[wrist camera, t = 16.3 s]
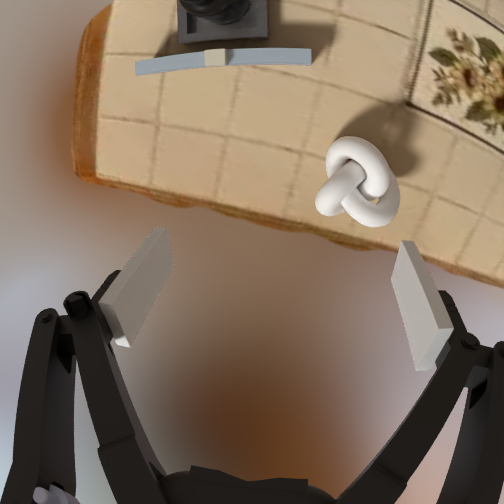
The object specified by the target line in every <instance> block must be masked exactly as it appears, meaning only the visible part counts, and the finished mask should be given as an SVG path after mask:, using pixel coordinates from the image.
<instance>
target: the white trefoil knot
mask: <svg viewBox="0 0 504 504" xmlns="http://www.w3.org/2000/svg"><path fill="white" fill-rule="evenodd" d="M348 159H352V160H351V161H349V162H348V163H347V160H348ZM326 171H327V175H328V178H329V179H328V180H327V181H326V183H325V184H324V185H323V186H322V187H321V189H320V190H319V191H318V193H317V196H316V200H315V205H316V208H317V210H318V211H319V212H320V213H321V214H322V215H326V216H334V215H337V214H340V213H342V212H345V211H347V212H348V214H349V215H350V216H351V217H353V218H354V219H355V220H357V221H358V222H359V223H361V224H363V225H365V226H368V227H380V226H384V225H386V224H388V223H389V222H390V221H392V220H393V218H394V217H395V215H396V213H397V211H398V208H399V205H400V190H399V185H398V183H397V180H396V178H395V176H394V174H393V172H392V170H391V169H390V168H389V166H388V163H387V161H386V159H385V158H384V156H383V155H382V153H381V152H380V151H379V150H378V149H377V148H376V147H375V146H374V145H373V144H371V143H370V142H369V141H367V140H365V139H363V138H359V137H353V136H345V137H341V138H339V139H337V140H336V141H334V142H333V143H332V144H331V145H330V147H329V148H328V151H327V154H326ZM365 178H366V179H365ZM364 179H365V180H364ZM377 198H379V201H378V202H377V203H376V204H372V203H370V202H369V201H372V200H375V199H377Z"/></svg>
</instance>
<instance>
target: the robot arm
mask: <svg viewBox="0 0 504 504" xmlns="http://www.w3.org/2000/svg"><path fill="white" fill-rule="evenodd" d="M503 102H504V99H503ZM173 268H174V262H173V256H172V251H171V246H170V240H169V235H168V229H167V227H155V228H154V229H153V230H152V232H151V233H150V234H149V236H148V237H147V238H146V239H145V241H144V242H143V243H142V244H141V246H140V247H139V248H138V250H137V251H136V252H135V253H134V255H133V256H132V257H131V258H130V260H129V261H128V262H127V264H126V265H125V266H124V268H123V269H122V270H116V271H114V272H113V273H112V274H110V275H109V276H108V277H107V279H106V280H105V281H104V283H103V284H102V285H101V286H100V288H99V289H98V291H97V292H96V293H95V295H94V296H93V297H92V299H91V300H90V298H89V295H88V293H87V292H85V291H77V292H73V293H71V294H70V295H68V296H67V297H66V299H65V300H64V303H63V305H64V307H65V309H66V312H67V313H68V315H62V316H59V315H58V313H57V311H56V310H55V309H53V308H48V309H45V310H43V311H41V312H40V313H39V314H38V315H37V317H36V319H35V322H34V326H33V330H32V334H31V338H30V342H29V346H28V351H27V355H26V359H25V365H24V370H23V375H22V380H21V386H20V393H19V399H18V407H17V414H16V423H15V433H14V446H13V463H12V466H11V469H10V472H9V475H8V478H7V481H6V484H5V487H4V491H3V494H2V498H1V501H0V504H80V503H79V501H78V500H77V499H76V498H75V493H76V472H75V454H74V391H75V373H76V360H77V362H78V367H79V372H80V376H81V381H82V385H83V389H84V393H85V397H86V401H87V404H88V408H89V412H90V415H91V419H92V422H93V425H94V429H95V432H96V435H97V438H98V441H99V444H100V447H99V448H98V455H99V458H100V461H101V464H102V467H103V470H104V472H105V475H106V477H107V480H108V482H109V485H110V487H111V490H112V492H113V495H114V497H115V499H116V501H117V504H394V503H395V502H396V501H397V499H398V498H399V497H400V495H401V494H402V493H403V491H404V490H405V488H406V486H407V482H408V480H409V479H410V477H411V476H412V474H413V473H414V471H415V470H416V469H417V467H418V466H419V464H420V463H421V461H422V460H423V458H424V457H425V455H426V454H427V452H428V451H429V449H430V447H431V446H432V444H433V443H434V441H435V439H436V438H437V436H438V434H439V433H440V431H441V429H442V428H443V426H444V424H445V422H446V421H447V419H448V417H449V415H450V413H451V411H452V410H453V408H454V406H455V404H456V402H457V400H458V398H459V396H460V394H461V392H462V390H463V388H464V387H468V394H467V399H466V404H465V409H464V414H463V419H462V423H461V427H460V432H459V435H458V439H457V443H456V447H455V450H454V454H453V457H452V460H451V464H450V467H449V470H448V473H447V476H446V479H445V482H444V485H443V487H442V490H441V493H440V496H439V498H438V501H437V503H436V504H498V502H499V498H500V494H501V490H502V486H503V482H504V341H500V342H497V343H496V344H495V346H494V348H491V347H487V346H483V345H480V342H479V340H478V339H477V337H475V336H474V335H473V334H471V333H468V332H467V330H466V328H465V325H464V323H463V321H462V318H461V316H460V314H459V312H458V309H457V307H456V306H455V303H454V301H453V299H452V297H451V296H450V295H449V294H448V293H447V292H446V291H442V290H441V291H440V290H437V288H436V285H435V283H434V281H433V279H432V277H431V275H430V273H429V271H428V268H427V266H426V264H425V262H424V260H423V258H422V256H421V254H420V253H419V251H418V249H417V247H416V245H415V243H414V241H404V240H401V244H400V248H399V252H398V256H397V260H396V263H395V267H394V271H393V275H392V278H391V282H392V285H393V289H394V292H395V295H396V298H397V302H398V305H399V308H400V312H401V315H402V318H403V322H404V326H405V330H406V333H407V337H408V341H409V345H410V348H411V353H412V357H413V361H414V365H415V370H416V371H423V370H431V368H432V366H433V365H434V363H436V367H437V370H436V372H435V374H434V375H433V376H432V378H431V380H430V381H429V383H428V385H427V386H426V388H425V390H424V391H423V393H422V394H421V396H420V397H419V399H418V400H417V402H416V403H415V405H414V406H413V408H412V409H411V411H410V412H409V414H408V415H407V416H406V418H405V419H404V421H403V422H402V423H401V425H400V426H399V427H398V429H397V430H396V431H395V433H394V434H393V435H392V437H391V438H390V439H389V440H388V442H387V443H386V444H385V446H384V447H383V448H382V449H381V450H380V452H379V453H378V454H377V455H376V457H375V458H374V459H373V460H372V461H371V462H370V464H369V465H368V466H367V467H366V468H365V469H364V470H363V472H362V473H361V474H360V475H359V476H358V477H357V478H356V479H355V481H354V482H352V484H351V485H350V486H349V487H348V488H347V489H346V490H345V491H344V492H343V493H342V494H341V495H340V496H339V497H338V498H337V499H336V500H335V499H334V498H333V497H332V496H331V495H329V494H328V493H326V492H325V491H323V490H321V489H319V488H317V487H314V486H311V485H308V479H290V478H274V479H267V480H259V481H245V480H242V479H239V478H237V477H234V476H232V475H229V474H226V473H224V472H221V471H219V470H213V469H207V468H203V467H197V466H191V469H190V471H181V472H176V473H173V474H170V475H167V474H166V472H165V471H164V469H163V467H162V466H161V464H160V463H159V461H158V459H157V457H156V455H155V453H154V451H153V449H152V447H151V445H150V443H149V441H148V438H147V436H146V434H145V432H144V430H143V428H142V425H141V423H140V420H139V418H138V416H137V413H136V411H135V409H134V406H133V404H132V401H131V399H130V396H129V394H128V391H127V388H126V386H125V383H124V380H123V378H122V375H121V372H120V369H119V367H118V364H117V361H116V358H115V355H114V352H113V349H112V346H111V344H110V341H111V340H112V338H113V337H114V339H115V341H116V343H117V345H120V346H125V347H131V345H132V343H133V341H134V340H135V338H136V336H137V334H138V332H139V330H140V328H141V326H142V324H143V323H144V321H145V319H146V317H147V315H148V313H149V311H150V310H151V308H152V306H153V304H154V302H155V300H156V299H157V297H158V295H159V293H160V291H161V290H162V288H163V286H164V284H165V282H166V281H167V279H168V277H169V275H170V274H171V272H172V270H173Z"/></svg>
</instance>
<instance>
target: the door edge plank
mask: <svg viewBox="0 0 504 504" xmlns="http://www.w3.org/2000/svg"><path fill="white" fill-rule="evenodd" d="M234 65H306V66H310V65H311V49H302V48H245V49H225V48H224V49H212V50H204V51H203V52H194V53H186V54H178V55H171V56H165V57H158V58H153V59H147V60H142V61H137V62H135V69H136V76H139V75H147V74H155V73H162V72H169V71H177V70H185V69H194V68H205V67H217V66H234Z"/></svg>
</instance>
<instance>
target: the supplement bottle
mask: <svg viewBox="0 0 504 504" xmlns="http://www.w3.org/2000/svg"><path fill="white" fill-rule="evenodd" d="M178 1H179V3H180V5H181V6H182V8H183V9H184V10H185V11H187V12H188V13H190V14H192V15H195V16H197V17H200V18H202V19H205V20H207V21H209V22H212V23H216V24H227V23H231V22H234V21H236V20H238V19H239V18H240V17H242V16H243V15H244V13H245V12H246V10H247V9H248V6H249V0H178Z"/></svg>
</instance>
